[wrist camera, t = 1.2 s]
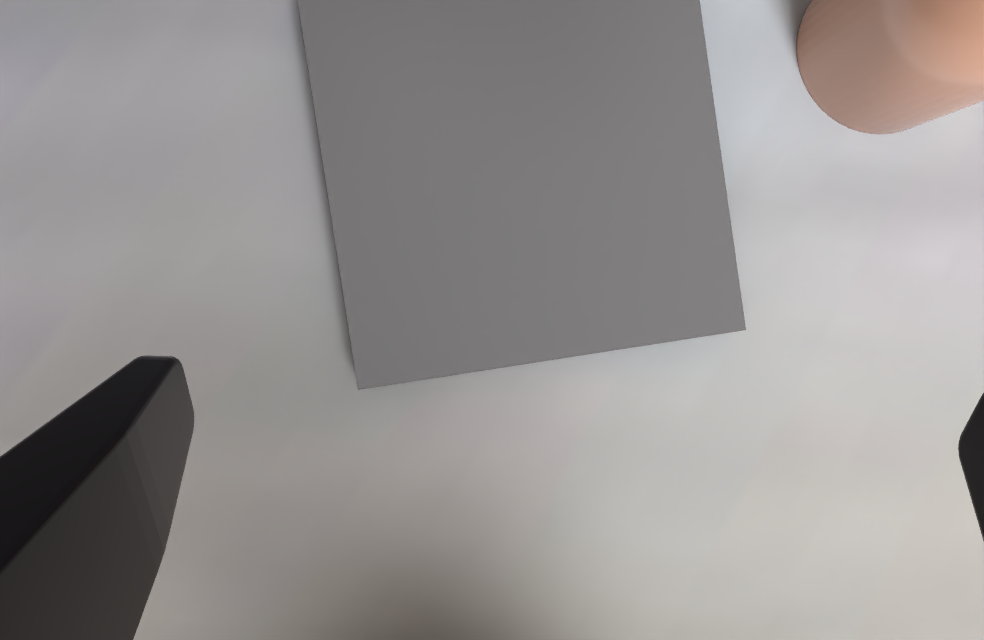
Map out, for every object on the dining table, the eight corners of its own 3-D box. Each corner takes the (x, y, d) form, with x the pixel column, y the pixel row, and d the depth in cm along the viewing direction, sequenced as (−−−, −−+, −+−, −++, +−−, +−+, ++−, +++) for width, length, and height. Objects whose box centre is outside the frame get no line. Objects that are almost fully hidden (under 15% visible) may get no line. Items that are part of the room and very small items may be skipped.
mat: (733, 328, 25) (746, 329, 24) (361, 386, 24) (357, 389, 23) (680, -47, 24) (690, -61, 23) (302, 4, 24) (296, -9, 23)
